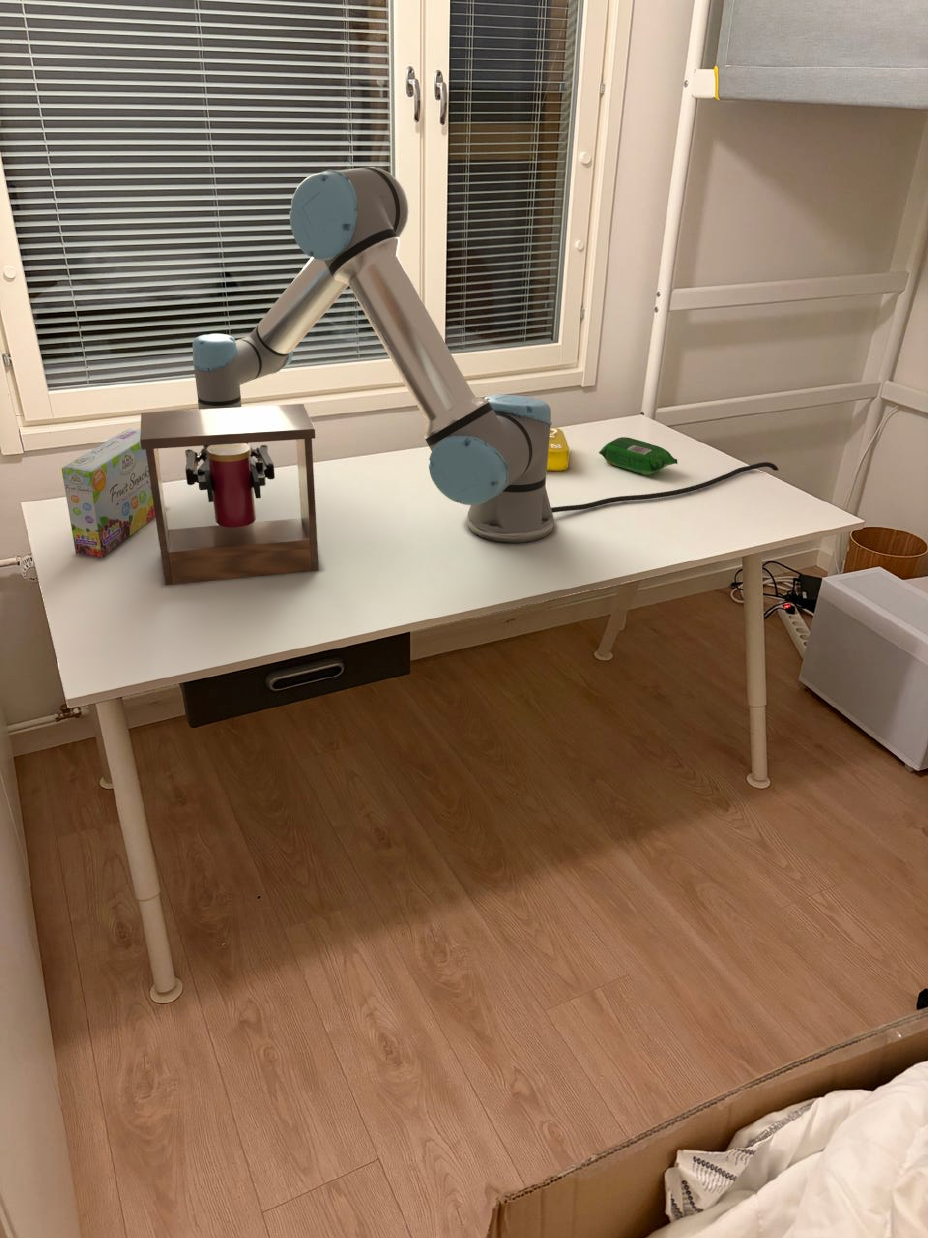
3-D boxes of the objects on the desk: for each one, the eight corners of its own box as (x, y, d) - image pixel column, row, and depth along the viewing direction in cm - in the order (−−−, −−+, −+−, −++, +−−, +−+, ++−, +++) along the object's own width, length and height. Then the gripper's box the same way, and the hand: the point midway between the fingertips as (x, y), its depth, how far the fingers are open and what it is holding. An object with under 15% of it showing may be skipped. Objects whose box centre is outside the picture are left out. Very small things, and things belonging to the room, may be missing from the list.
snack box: (106, 559, 151) (90, 471, 144) (74, 555, 152) (57, 467, 145) (167, 509, 170) (156, 428, 162) (139, 505, 170) (126, 425, 163)
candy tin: (255, 509, 155) (249, 439, 149) (258, 525, 149) (252, 453, 143) (213, 512, 153) (205, 442, 147) (215, 529, 147) (207, 457, 141)
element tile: (492, 445, 204) (492, 424, 202) (560, 446, 205) (562, 425, 202) (496, 470, 191) (497, 447, 189) (569, 471, 192) (571, 449, 189)
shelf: (311, 538, 161) (303, 403, 149) (322, 570, 150) (315, 428, 139) (161, 551, 154) (141, 412, 143) (162, 586, 144) (140, 439, 132)
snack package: (658, 483, 188) (661, 458, 185) (595, 462, 197) (598, 438, 194) (677, 474, 192) (681, 450, 190) (615, 454, 202) (618, 431, 199)
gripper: (283, 458, 167) (299, 509, 148) (169, 466, 162) (171, 519, 143) (280, 417, 163) (296, 464, 144) (164, 424, 158) (164, 473, 139)
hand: (234, 491), depth 143 cm, fingers closed on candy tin, 6 cm apart
